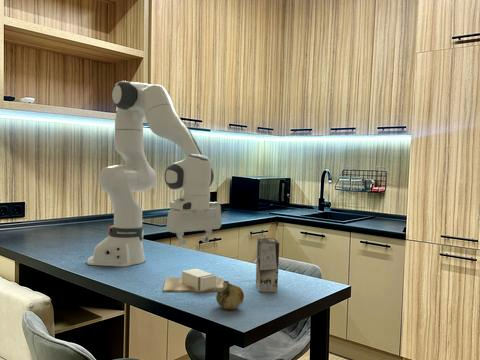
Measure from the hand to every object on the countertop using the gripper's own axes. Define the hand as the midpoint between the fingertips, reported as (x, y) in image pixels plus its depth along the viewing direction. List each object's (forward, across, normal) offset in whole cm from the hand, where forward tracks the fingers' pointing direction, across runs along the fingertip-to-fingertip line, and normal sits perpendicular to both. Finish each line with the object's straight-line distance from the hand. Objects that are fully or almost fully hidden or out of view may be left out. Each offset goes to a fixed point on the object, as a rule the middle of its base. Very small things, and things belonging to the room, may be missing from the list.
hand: (194, 243), depth 144 cm
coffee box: (+14, -18, +17) cm, 29 cm away
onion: (+13, +4, +25) cm, 29 cm away
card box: (+12, 0, -2) cm, 12 cm away
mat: (+14, 0, +1) cm, 14 cm away
